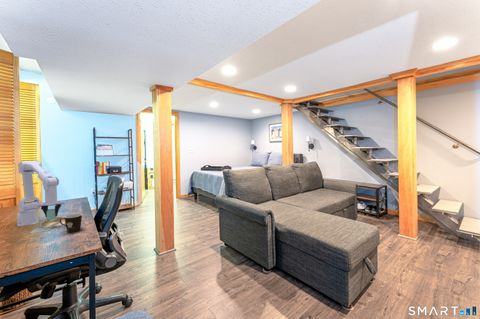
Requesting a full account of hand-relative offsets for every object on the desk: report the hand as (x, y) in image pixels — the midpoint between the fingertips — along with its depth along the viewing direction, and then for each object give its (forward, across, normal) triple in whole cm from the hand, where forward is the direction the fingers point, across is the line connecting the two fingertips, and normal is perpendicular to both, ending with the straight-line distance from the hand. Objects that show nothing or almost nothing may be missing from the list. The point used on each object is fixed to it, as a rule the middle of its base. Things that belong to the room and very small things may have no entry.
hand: (51, 216), depth 134 cm
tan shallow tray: (+8, 0, +9) cm, 12 cm away
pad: (+8, -5, -1) cm, 9 cm away
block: (+2, 0, 0) cm, 2 cm away
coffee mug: (+8, +12, -12) cm, 19 cm away
